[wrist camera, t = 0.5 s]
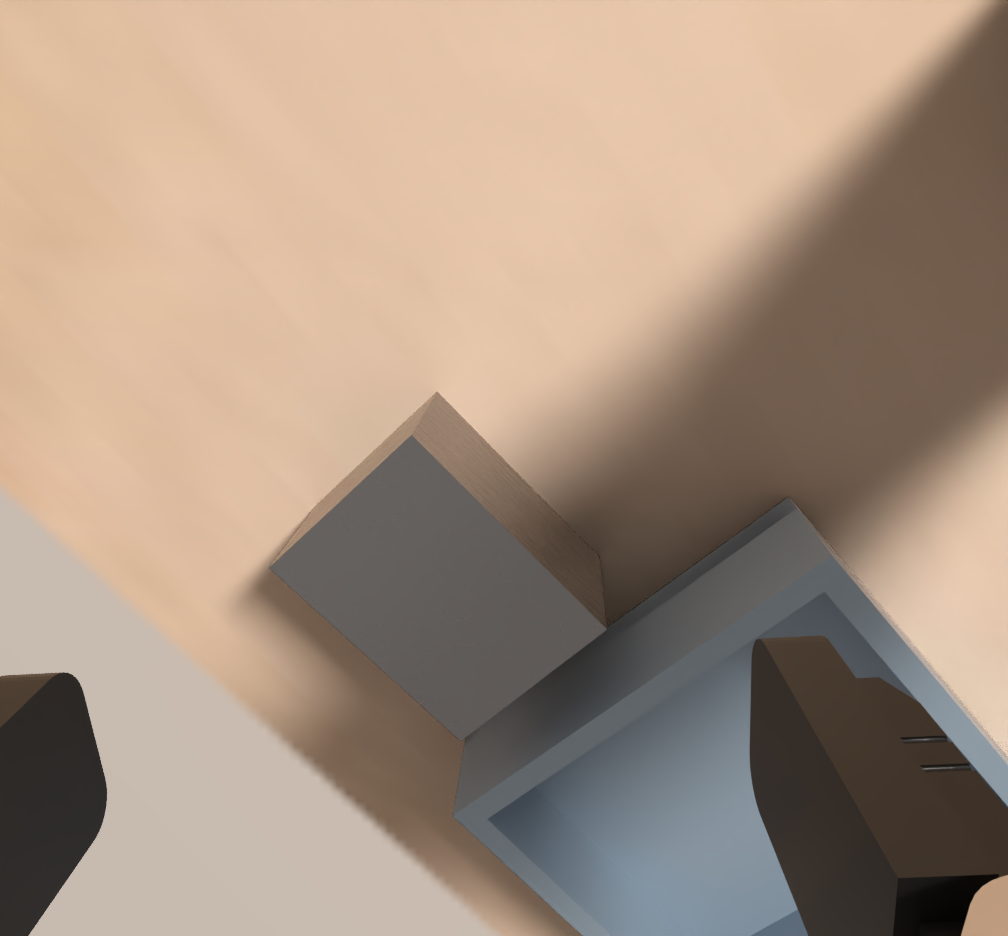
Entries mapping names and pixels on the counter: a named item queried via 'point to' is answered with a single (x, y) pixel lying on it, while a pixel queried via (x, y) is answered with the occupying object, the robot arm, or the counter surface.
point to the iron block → (447, 570)
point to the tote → (681, 744)
